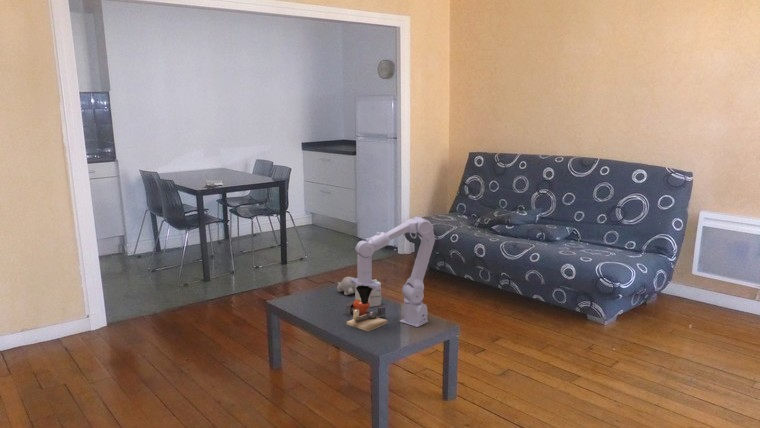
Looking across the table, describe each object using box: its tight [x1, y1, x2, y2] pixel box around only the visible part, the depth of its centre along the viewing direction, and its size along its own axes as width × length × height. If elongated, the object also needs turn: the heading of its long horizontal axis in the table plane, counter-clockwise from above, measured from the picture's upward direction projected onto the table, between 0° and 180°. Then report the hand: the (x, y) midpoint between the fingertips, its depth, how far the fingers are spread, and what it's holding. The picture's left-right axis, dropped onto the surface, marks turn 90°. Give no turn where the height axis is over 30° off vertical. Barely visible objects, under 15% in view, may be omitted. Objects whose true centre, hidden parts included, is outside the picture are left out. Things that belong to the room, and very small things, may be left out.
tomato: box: [352, 298, 371, 316], centre depth 247 cm, size 7×7×8 cm
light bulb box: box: [354, 279, 382, 308], centre depth 258 cm, size 11×7×11 cm, turn 111°
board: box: [346, 313, 388, 332], centre depth 236 cm, size 12×12×1 cm
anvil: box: [343, 301, 354, 317], centre depth 248 cm, size 3×7×4 cm, turn 163°
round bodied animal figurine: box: [337, 276, 355, 296], centre depth 275 cm, size 7×12×8 cm, turn 46°
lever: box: [352, 305, 386, 322], centre depth 238 cm, size 16×4×5 cm, turn 129°
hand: (364, 303), depth 230 cm, fingers closed
